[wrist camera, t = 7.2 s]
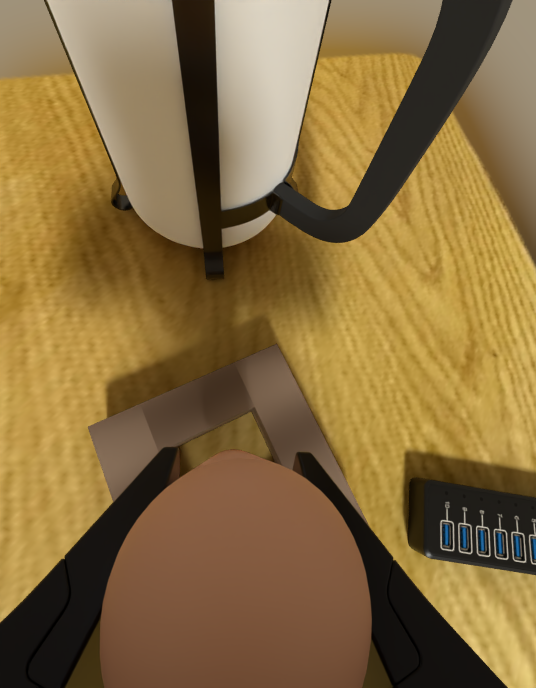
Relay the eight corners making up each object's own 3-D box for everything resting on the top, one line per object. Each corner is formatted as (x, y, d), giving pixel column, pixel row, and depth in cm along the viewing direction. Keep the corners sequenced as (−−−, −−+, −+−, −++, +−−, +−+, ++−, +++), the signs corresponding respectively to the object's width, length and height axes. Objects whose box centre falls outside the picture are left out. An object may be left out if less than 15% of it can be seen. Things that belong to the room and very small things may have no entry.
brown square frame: (351, 517, 22) (370, 528, 19) (175, 624, 19) (166, 656, 16) (271, 355, 24) (276, 343, 21) (106, 429, 21) (87, 426, 19)
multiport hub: (406, 475, 23) (425, 478, 21) (596, 508, 24) (633, 514, 22) (404, 546, 22) (424, 557, 20) (606, 578, 23) (646, 592, 20)
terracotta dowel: (278, 503, 15) (507, 768, 3) (213, 539, 14) (114, 1127, 2) (249, 437, 16) (322, 409, 3) (185, 469, 15) (-16, 578, 3)
